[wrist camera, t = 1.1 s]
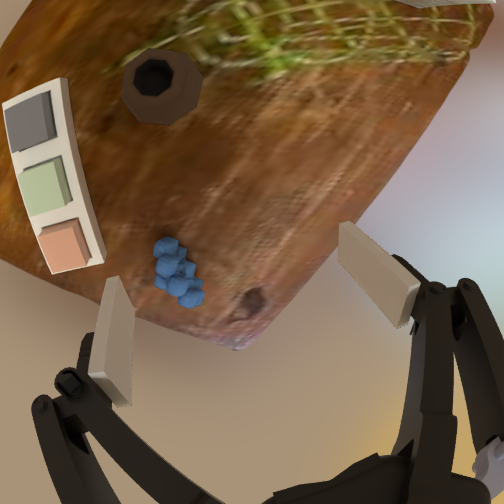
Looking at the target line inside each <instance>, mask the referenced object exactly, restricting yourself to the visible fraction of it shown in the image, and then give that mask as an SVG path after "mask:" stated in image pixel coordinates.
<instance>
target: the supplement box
mask: <svg viewBox="0 0 504 504" xmlns="http://www.w3.org/2000/svg"><path fill="white" fill-rule="evenodd" d="M395 1H398V2H402V3H405V4H408V5H411V6H414V7H416V8H425V7H433V6H443V5H454V4H474V3H496V1H495V0H395Z"/></svg>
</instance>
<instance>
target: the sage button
mask: <svg viewBox="0 0 504 504" xmlns="http://www.w3.org/2000/svg"><path fill="white" fill-rule="evenodd" d="M17 176H18V180H19V184H20V187H21V191H22V194H23V197H24V201H25V204H26V207H27V210H28V213H29V216H30V217H32V216H35V215H38V214H41V213H44V212H48V211H51V210H54V209H57V208H61V207H64V206H66V205H67V204H68V202H69V201H70V200H71V199H72V196H71V192H70V189H69V185H68V181H67V177H66V174H65V169H64V165H63V161H62V157H59V158H56V159H53V160H50V161H47V162H44V163H42V164H39V165H36V166H34V167H31V168H29V169H26V170H25V171H23V172H22V173H20V174H18V175H17Z"/></svg>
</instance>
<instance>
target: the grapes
mask: <svg viewBox="0 0 504 504" xmlns="http://www.w3.org/2000/svg"><path fill="white" fill-rule="evenodd" d="M178 243H179V241H178V240H176V239H174V238H172V237H168V236H167V237H163V238H162V239H161V240H158V241H157V242H156V243H155V245H154V250H153V256H155V257H156V258H158V260H157V263H156V269H155V272H157V274H156V276H155V280H154V286H155V287H157V288H159V289H162V290H166V292H167V293H169V294H171V295H173V296H176V297H178V304H179V305H181V306H183V307H186V308H193V307H195V306H199V305H200V304H201V303H202V301H203V299H204V294H205V292H204V291H202V290H201V288H202V284H203V280H201V279H199V278H197V277H194V273H195V269H196V264H194V263H192V262H190V261H186V260H187V259H185V257H186V253H187V249H186V248H184V247H181V246H178Z"/></svg>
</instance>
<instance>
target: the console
mask: <svg viewBox="0 0 504 504" xmlns="http://www.w3.org/2000/svg"><path fill="white" fill-rule="evenodd" d="M40 93H50V94H51V102H52V109H53V115H54V121H55V127H56V133H57V135H56V136H54V137H51V138H49V139H46V140H44V141H41V142H38V143H36V144H33V145H31V146H29V147H26V148H24V149H21V150H19V151H17V152H15V153H12V152H11V147H10V142H9V137H8V132H7V126H6V120H5V113H4V110H6V109H8V108H10V107H12V106H14V105H16V104H18V103H20V102H22V101H24V100H26V99H28V98H31V97H33V96H35V95H37V94H40ZM2 106H3V113H4V120H5V126H6V132H7V138H8V143H9V147H10V152H11V157H12V161H13V165H14V169H15V173H16V177H17V180H18V176H17V175H18V174H20V173H22V172H23V171H25V170H26V169H29V168H31V167H34V166H36V165H39V164H42V163H44V162H47V161H50V160H53V159H56V158H59V157H62V161H63V165H64V169H65V174H66V177H67V181H68V185H69V189H70V192H71V196H72V199H71V200H70V201H69V202H68V204H67V205H66V206H64V207H61V208H57V209H54V210H51V211H48V212H44V213H41V214H38V215H35V216H32V217H30V216H29V213H28V210H27V207H26V204H25V201H24V197H23V194H22V191H21V187H20V184H19V180H18V184H19V188H20V191H21V194H22V198H23V201H24V204H25V207H26V210H27V213H28V216H29V219H30V222H31V224H32V227H33V230H34V233H35V235H36V238H37V237H38V235H39V234H40V233H41V231H42V230H43V229H44V227H48V226H51V225H54V224H58V223H62V222H65V221H69V220H72V219H76V218H78V219H79V222H80V225H81V228H82V231H83V234H84V237H85V240H86V243H87V245H88V248H89V251H90V253H91V256H90V258H89V261H88V263H87V266H92V265H96V264H101V263H104V262H105V259H106V255H107V250H106V247H105V244H104V241H103V238H102V235H101V232H100V229H99V226H98V222H97V219H96V216H95V212H94V209H93V206H92V202H91V198H90V195H89V191H88V187H87V183H86V179H85V175H84V171H83V167H82V163H81V158H80V154H79V149H78V144H77V139H76V134H75V128H74V123H73V117H72V110H71V104H70V96H69V88H68V79H67V78H61V77H59V78H57V79H54V80H52V81H49V82H47V83H44V84H42V85H40V86H37V87H35V88H33V89H31V90H28V91H26V92H24V93H22V94H20V95H18V96H16V97H14V98H12V99H10V100H8V101H6V102H4V103H2ZM37 240H38V238H37ZM38 243H39V240H38ZM39 245H40V243H39ZM40 248H41V245H40ZM41 250H42V248H41ZM42 253H43V255H44V252H43V250H42ZM44 257H45V255H44ZM45 260H46V257H45ZM46 262H47V260H46ZM47 264H48V262H47ZM48 266H49V264H48ZM87 266H83V267H87ZM78 268H82V267H78ZM78 268H74V269H78ZM49 269H50V266H49ZM69 270H73V269H69ZM69 270H65V271H69ZM50 271H51V269H50ZM61 272H64V271H61ZM51 273H52V271H51ZM56 273H60V272H56ZM56 273H52V274H56Z"/></svg>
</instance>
